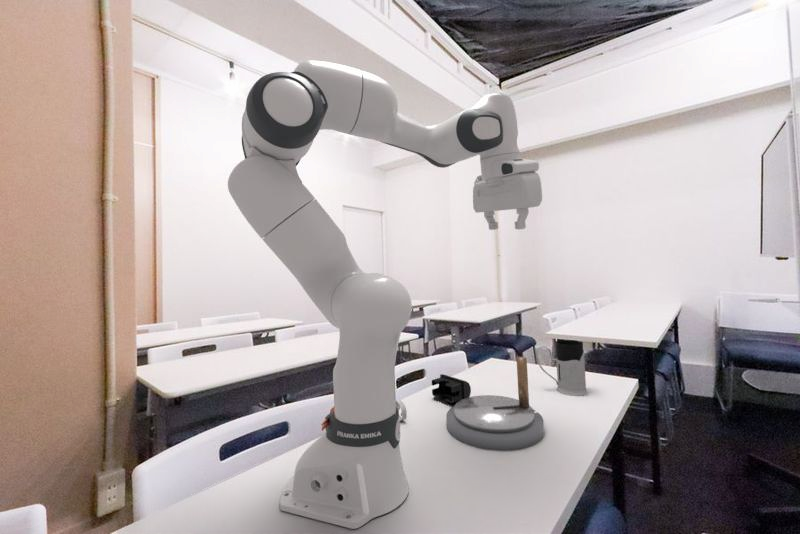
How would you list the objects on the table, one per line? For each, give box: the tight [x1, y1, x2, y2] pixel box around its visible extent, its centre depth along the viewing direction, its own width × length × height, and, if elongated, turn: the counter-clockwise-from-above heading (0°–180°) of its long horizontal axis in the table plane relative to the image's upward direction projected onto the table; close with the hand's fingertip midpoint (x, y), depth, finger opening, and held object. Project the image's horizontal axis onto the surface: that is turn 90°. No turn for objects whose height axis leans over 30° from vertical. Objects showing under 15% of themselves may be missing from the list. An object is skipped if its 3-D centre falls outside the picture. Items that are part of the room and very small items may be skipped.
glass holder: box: [535, 339, 589, 397], centre depth 107 cm, size 9×14×15 cm, turn 75°
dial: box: [454, 356, 535, 433], centre depth 85 cm, size 19×19×14 cm
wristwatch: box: [396, 399, 408, 422], centre depth 91 cm, size 3×5×5 cm, turn 29°
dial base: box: [446, 406, 545, 451], centre depth 85 cm, size 23×23×3 cm
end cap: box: [431, 373, 472, 408], centre depth 104 cm, size 10×7×7 cm
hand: (506, 229), depth 82 cm, fingers open, 8 cm apart
